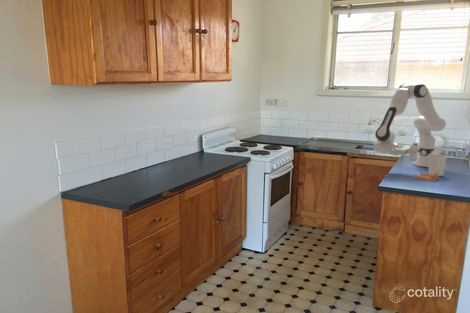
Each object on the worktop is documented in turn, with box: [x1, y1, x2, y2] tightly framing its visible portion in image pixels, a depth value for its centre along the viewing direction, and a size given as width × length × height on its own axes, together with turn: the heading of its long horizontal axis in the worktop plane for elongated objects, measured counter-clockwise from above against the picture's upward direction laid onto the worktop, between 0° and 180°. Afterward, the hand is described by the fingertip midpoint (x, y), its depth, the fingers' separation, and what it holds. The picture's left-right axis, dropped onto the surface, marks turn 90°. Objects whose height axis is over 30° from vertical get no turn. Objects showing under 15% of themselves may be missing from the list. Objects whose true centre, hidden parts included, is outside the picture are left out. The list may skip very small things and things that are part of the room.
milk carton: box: [427, 147, 447, 177], centre depth 272 cm, size 7×7×19 cm
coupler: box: [413, 173, 439, 182], centre depth 263 cm, size 14×12×4 cm
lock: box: [408, 142, 420, 161], centre depth 271 cm, size 5×6×12 cm
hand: (415, 151), depth 271 cm, fingers closed on lock, 5 cm apart
